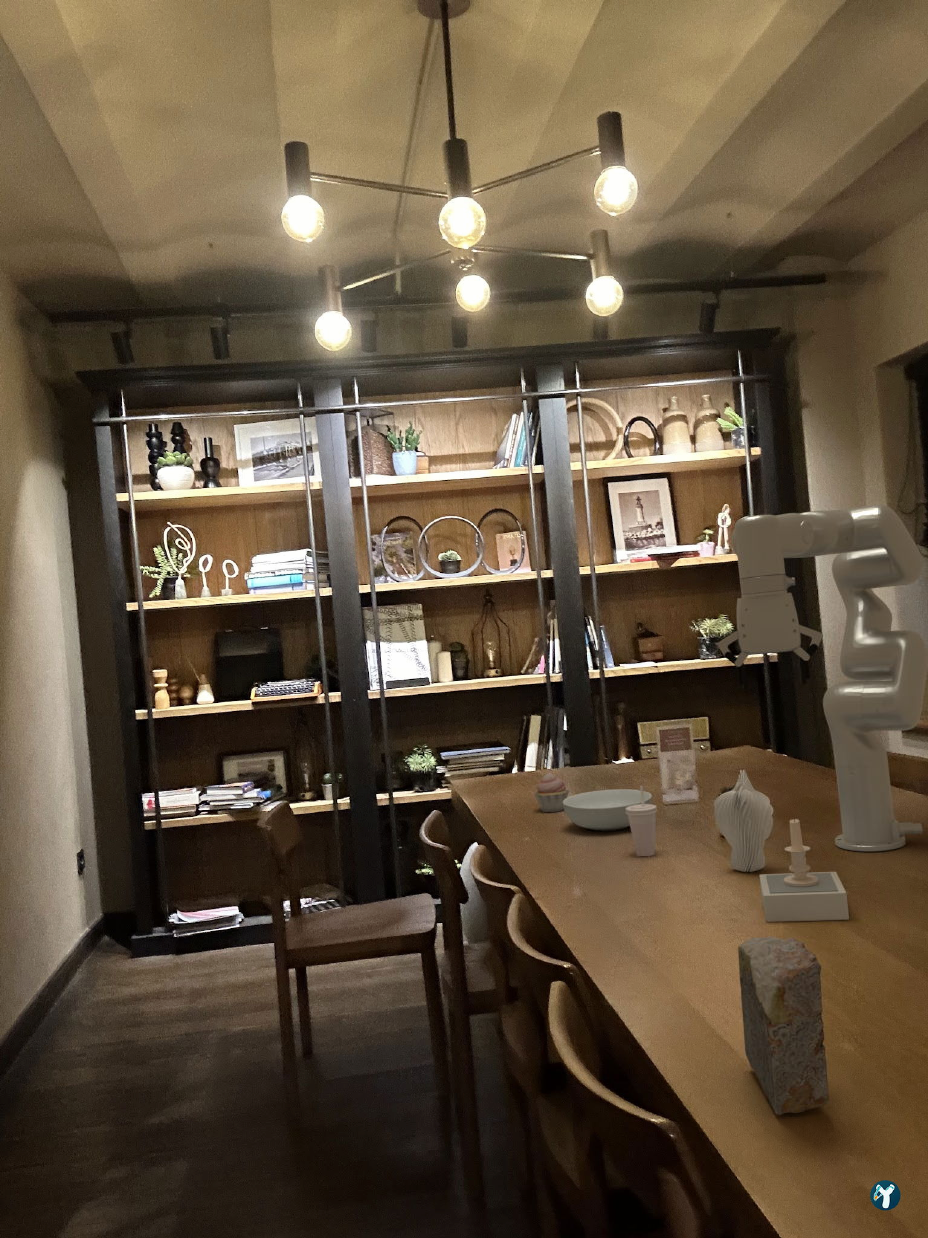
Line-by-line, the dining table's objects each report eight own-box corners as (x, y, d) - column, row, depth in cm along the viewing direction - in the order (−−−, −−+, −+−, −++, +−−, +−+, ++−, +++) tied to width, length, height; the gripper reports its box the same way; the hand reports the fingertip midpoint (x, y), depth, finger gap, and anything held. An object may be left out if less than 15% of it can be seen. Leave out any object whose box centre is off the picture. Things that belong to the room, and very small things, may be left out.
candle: (814, 887, 149) (807, 820, 149) (780, 886, 152) (773, 820, 152) (821, 878, 154) (814, 813, 154) (788, 877, 156) (781, 813, 156)
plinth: (838, 896, 157) (835, 870, 157) (849, 919, 145) (846, 892, 145) (761, 898, 160) (759, 873, 160) (766, 921, 148) (763, 895, 148)
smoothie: (661, 857, 193) (654, 788, 193) (629, 859, 194) (622, 790, 195) (661, 849, 199) (654, 782, 200) (630, 851, 201) (623, 784, 201)
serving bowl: (554, 838, 221) (551, 808, 221) (578, 818, 240) (576, 790, 240) (645, 836, 213) (641, 805, 213) (662, 816, 232) (659, 787, 232)
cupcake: (577, 806, 254) (573, 769, 255) (561, 814, 247) (557, 775, 247) (546, 806, 259) (542, 769, 260) (529, 813, 252) (525, 775, 252)
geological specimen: (744, 1069, 102) (729, 928, 103) (802, 1063, 102) (787, 922, 102) (773, 1120, 92) (756, 963, 92) (838, 1115, 92) (821, 957, 92)
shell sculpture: (750, 878, 172) (739, 778, 172) (718, 870, 179) (707, 774, 180) (783, 869, 176) (773, 771, 176) (751, 861, 183) (741, 767, 183)
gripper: (814, 582, 167) (824, 680, 167) (711, 593, 172) (722, 689, 171) (819, 581, 160) (830, 683, 160) (712, 592, 164) (722, 692, 164)
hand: (774, 686), depth 166 cm, fingers open, 9 cm apart
